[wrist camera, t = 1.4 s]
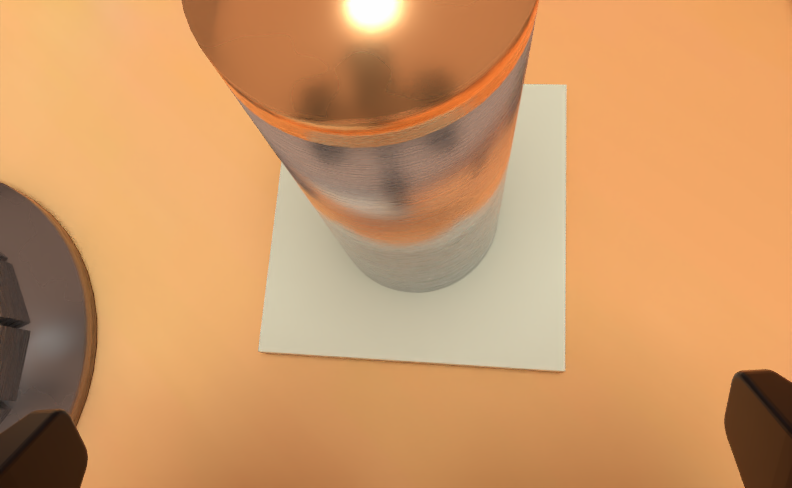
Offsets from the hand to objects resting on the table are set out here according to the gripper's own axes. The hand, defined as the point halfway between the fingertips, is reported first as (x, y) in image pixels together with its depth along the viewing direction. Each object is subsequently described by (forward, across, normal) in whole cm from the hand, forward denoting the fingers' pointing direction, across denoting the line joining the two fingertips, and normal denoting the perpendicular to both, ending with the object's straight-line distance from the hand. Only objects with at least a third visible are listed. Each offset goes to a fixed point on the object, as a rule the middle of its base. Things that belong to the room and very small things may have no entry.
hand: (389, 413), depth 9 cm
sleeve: (+13, 0, +4) cm, 14 cm away
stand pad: (+14, 0, +4) cm, 14 cm away
